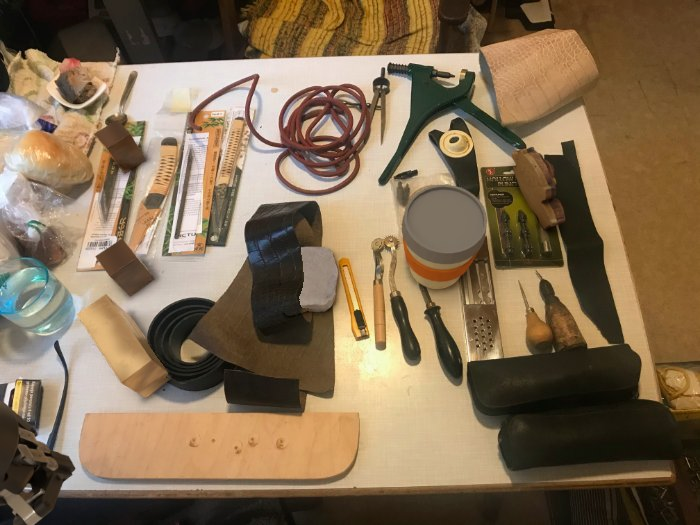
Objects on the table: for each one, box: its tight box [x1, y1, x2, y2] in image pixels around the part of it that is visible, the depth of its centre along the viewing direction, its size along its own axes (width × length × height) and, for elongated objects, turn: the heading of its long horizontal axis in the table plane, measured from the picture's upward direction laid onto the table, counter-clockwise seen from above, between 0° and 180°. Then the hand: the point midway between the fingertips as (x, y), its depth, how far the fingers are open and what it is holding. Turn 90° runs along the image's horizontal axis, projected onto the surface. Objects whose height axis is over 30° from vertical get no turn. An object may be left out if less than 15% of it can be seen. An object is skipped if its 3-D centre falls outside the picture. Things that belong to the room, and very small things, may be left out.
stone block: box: [299, 246, 339, 313], centre depth 86 cm, size 12×5×10 cm
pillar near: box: [95, 238, 156, 297], centre depth 86 cm, size 5×5×8 cm
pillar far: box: [94, 119, 147, 175], centre depth 99 cm, size 5×5×8 cm
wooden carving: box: [511, 146, 566, 230], centre depth 89 cm, size 16×5×10 cm, turn 20°
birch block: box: [76, 294, 171, 399], centre depth 79 cm, size 5×14×9 cm, turn 41°
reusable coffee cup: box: [401, 184, 488, 290], centre depth 81 cm, size 13×13×15 cm
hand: (63, 470), depth 49 cm, fingers closed
